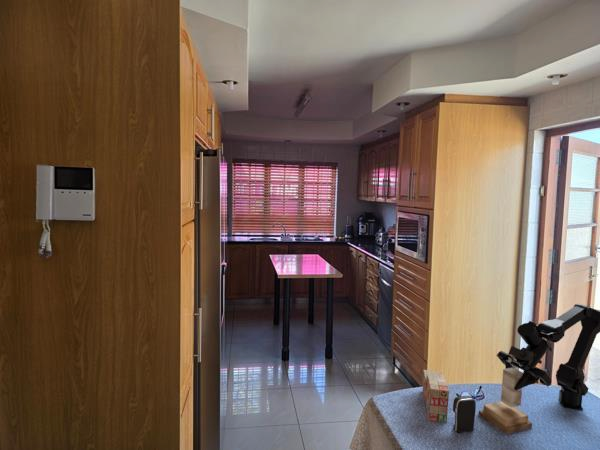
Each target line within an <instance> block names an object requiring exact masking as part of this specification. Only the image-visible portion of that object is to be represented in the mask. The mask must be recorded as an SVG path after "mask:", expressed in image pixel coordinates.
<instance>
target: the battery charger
mask: <svg viewBox="0 0 600 450" xmlns="http://www.w3.org/2000/svg"><path fill="white" fill-rule="evenodd" d="M476 403H477V402H476V401H475V399H474V398H472V397H471V396H469V395H462V396H456V397H455V398H454V399H453V403H452V404H453V406H452V411H453V412H454V425H453V430H454V431H455V432H457V433H465V432H472V431H474V430H475V419H476V410H477V409H476V408H477V407H476V405H477V404H476Z"/></svg>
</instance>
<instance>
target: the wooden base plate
mask: <svg viewBox="0 0 600 450" xmlns="http://www.w3.org/2000/svg"><path fill="white" fill-rule="evenodd" d="M478 416H479V417H481V418H482V419H484V420H485V421H486V422H488V423H489V424H490V425H492V426H493V427H495V428H496V429H497V430H499V431H500V432H502V433H503V434H505V435H510V434H513V433H517V432H521V431H525V430H528V429H531V428H533V423H532V421H530V420H528V422H527V423H522V424H518V425H513V426H508V427H504V426H503V425H502V424H500V423H499V422H498V421H496V420H495V419H493V418H492V417H491V416H489V415H488V414H486V413H485V412H484V411H483V409H481V410H478Z"/></svg>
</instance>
